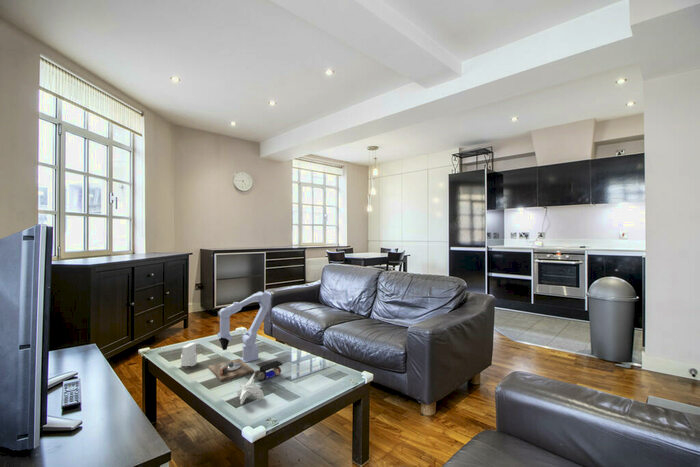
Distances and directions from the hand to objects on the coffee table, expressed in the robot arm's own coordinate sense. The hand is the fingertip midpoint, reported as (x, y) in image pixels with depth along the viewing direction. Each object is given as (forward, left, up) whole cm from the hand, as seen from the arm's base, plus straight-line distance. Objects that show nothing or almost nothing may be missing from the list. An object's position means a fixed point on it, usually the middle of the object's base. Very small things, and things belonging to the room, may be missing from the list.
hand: (224, 349), depth 202 cm
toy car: (-13, +35, -10) cm, 39 cm away
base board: (0, +11, -9) cm, 14 cm away
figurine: (+5, +52, -10) cm, 53 cm away
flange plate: (+2, +12, -8) cm, 15 cm away
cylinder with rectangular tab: (+17, -15, -10) cm, 25 cm away
